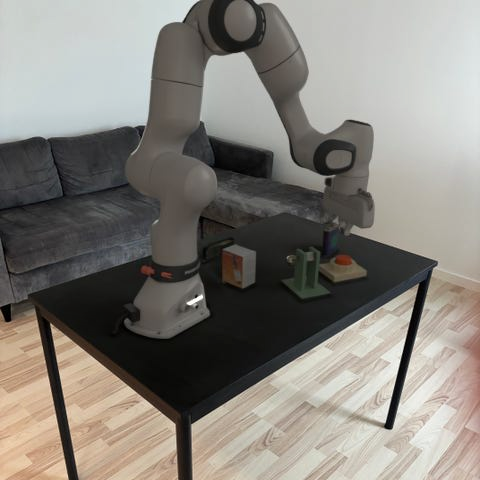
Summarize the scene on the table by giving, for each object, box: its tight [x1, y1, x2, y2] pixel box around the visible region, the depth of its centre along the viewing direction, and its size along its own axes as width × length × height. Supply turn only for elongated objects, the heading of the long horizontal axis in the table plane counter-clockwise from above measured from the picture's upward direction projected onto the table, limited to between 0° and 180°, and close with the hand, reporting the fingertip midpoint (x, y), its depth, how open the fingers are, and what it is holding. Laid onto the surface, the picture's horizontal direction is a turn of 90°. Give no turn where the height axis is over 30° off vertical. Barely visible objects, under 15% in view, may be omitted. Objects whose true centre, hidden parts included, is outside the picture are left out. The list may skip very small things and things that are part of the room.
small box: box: [221, 243, 257, 289], centre depth 134 cm, size 8×6×10 cm
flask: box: [321, 221, 340, 256], centre depth 155 cm, size 9×3×11 cm, turn 147°
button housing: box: [319, 257, 368, 283], centre depth 141 cm, size 11×9×4 cm
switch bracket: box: [280, 246, 331, 300], centre depth 131 cm, size 12×9×12 cm
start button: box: [335, 254, 352, 266], centre depth 140 cm, size 4×4×2 cm
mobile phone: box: [202, 236, 235, 264], centre depth 154 cm, size 5×3×15 cm
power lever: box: [285, 251, 314, 267], centre depth 134 cm, size 13×3×3 cm, turn 22°
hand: (344, 233), depth 136 cm, fingers closed
